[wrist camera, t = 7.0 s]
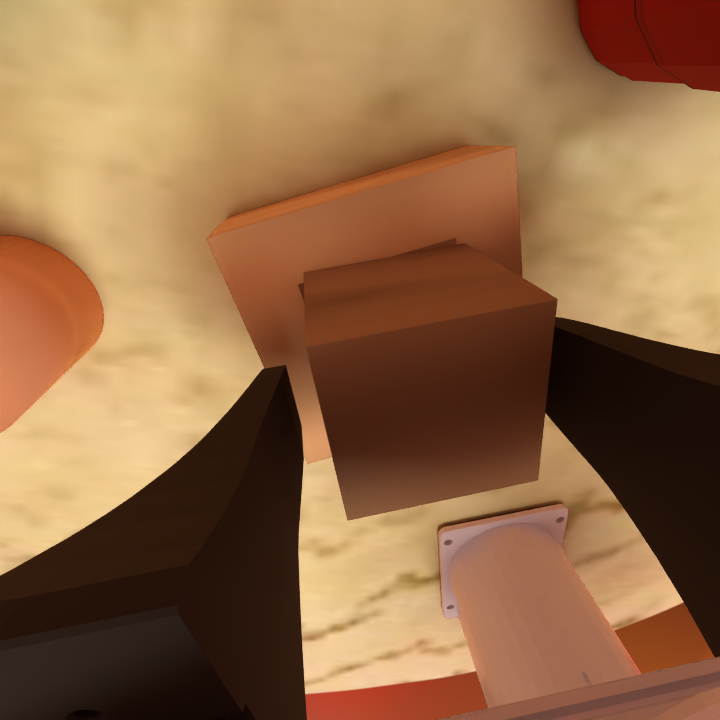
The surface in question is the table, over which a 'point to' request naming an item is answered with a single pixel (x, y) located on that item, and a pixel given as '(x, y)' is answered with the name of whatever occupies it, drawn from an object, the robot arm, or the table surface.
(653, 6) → the plastic cup
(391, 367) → the walnut cube
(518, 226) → the oak block
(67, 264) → the terracotta cylinder
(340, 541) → the table surface
